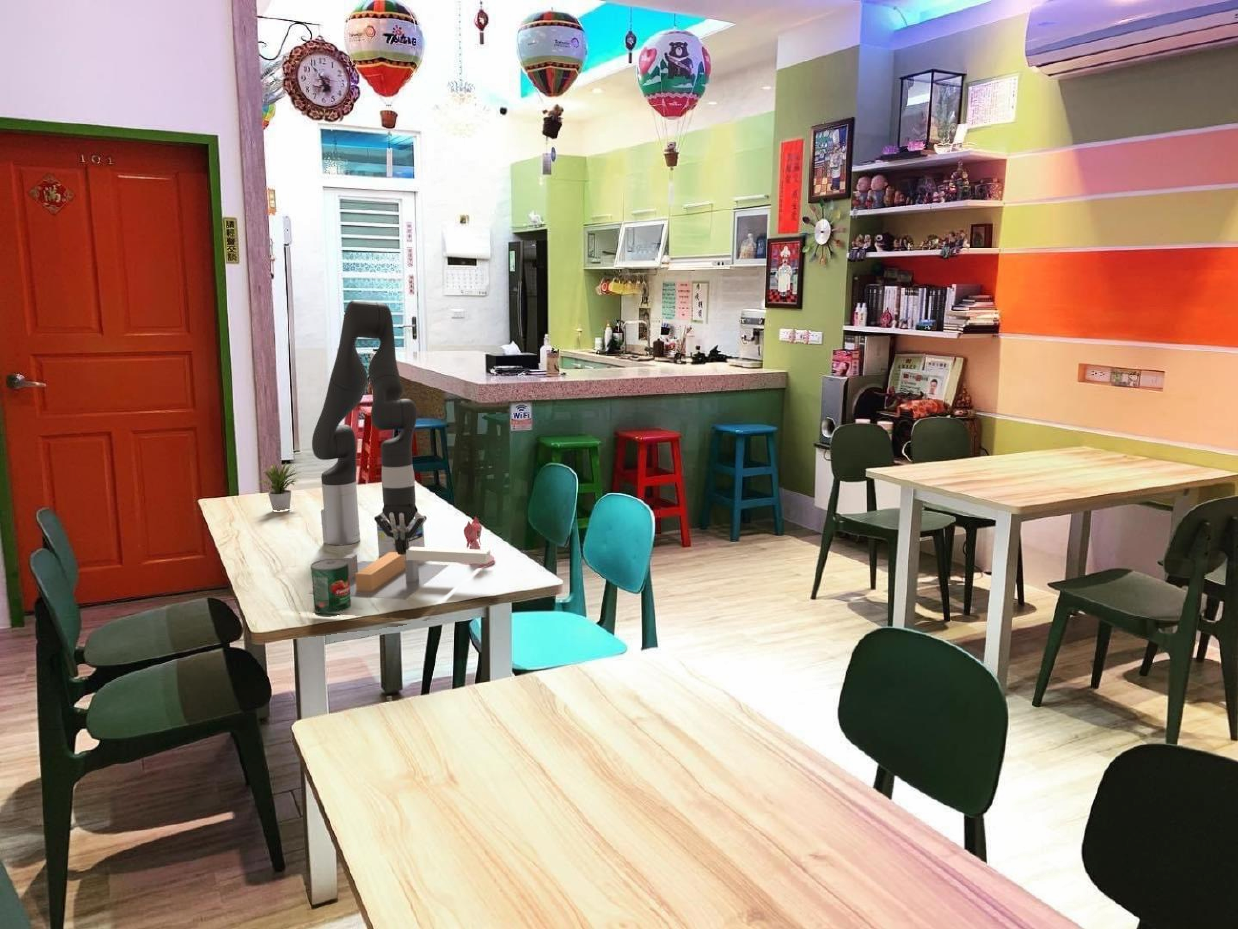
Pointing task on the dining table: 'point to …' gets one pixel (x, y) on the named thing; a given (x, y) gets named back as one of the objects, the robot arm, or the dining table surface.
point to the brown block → (380, 571)
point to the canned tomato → (330, 586)
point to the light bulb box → (388, 543)
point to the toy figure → (471, 535)
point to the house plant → (279, 487)
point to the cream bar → (448, 555)
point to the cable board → (393, 579)
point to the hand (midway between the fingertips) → (402, 553)
